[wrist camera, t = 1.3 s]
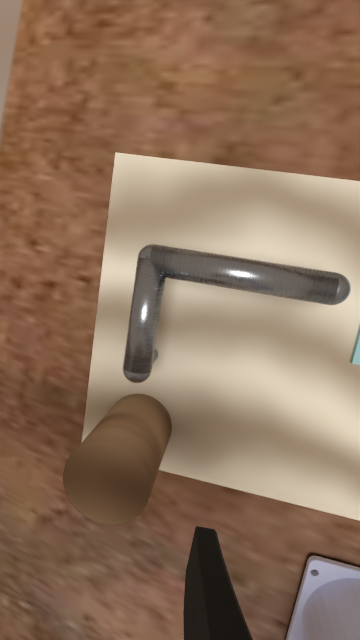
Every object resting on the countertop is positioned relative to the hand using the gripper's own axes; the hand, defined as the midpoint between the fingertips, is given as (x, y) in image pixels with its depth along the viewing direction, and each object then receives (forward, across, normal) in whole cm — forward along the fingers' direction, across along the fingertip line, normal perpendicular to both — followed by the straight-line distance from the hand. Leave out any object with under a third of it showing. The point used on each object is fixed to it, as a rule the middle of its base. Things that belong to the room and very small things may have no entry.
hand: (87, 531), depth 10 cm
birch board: (+11, -9, -4) cm, 15 cm away
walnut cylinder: (+10, 0, +3) cm, 10 cm away
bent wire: (+10, -5, -5) cm, 13 cm away
